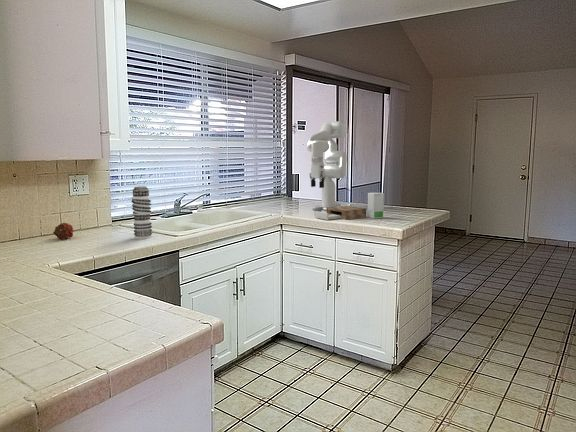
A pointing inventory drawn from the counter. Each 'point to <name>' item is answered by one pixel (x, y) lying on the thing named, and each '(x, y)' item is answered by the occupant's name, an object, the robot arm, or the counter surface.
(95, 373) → the counter surface
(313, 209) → the disc
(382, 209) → the skincare box
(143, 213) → the decorative candle
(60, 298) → the counter surface
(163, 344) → the counter surface
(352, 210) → the housing
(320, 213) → the tray
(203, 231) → the counter surface
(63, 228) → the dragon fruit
